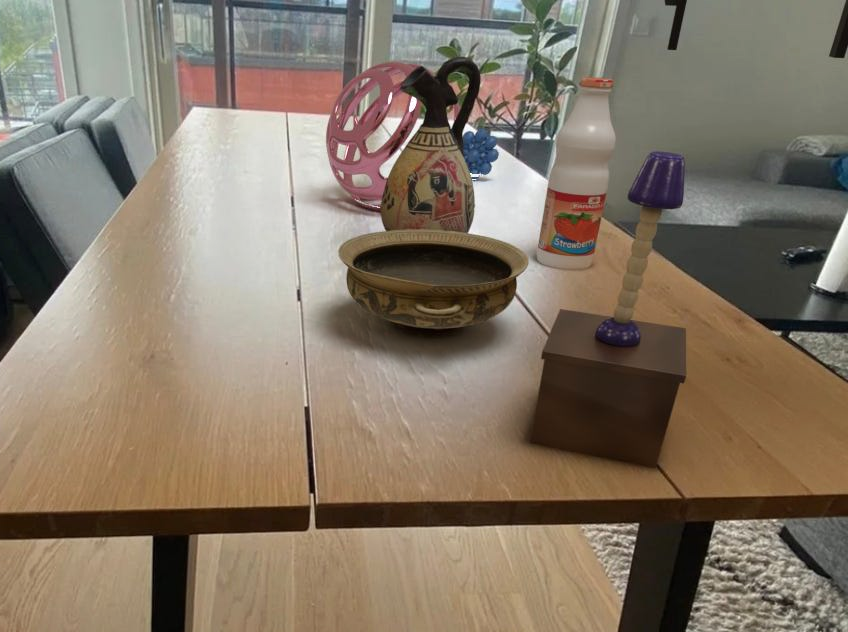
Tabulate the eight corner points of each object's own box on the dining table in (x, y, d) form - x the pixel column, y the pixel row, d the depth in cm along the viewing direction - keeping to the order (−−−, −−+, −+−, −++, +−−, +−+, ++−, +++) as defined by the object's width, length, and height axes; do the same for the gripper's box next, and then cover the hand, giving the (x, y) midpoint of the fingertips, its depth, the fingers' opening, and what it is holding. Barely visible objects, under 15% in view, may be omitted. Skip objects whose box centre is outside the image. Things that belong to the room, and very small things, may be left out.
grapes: (498, 180, 189) (505, 128, 183) (493, 185, 184) (500, 131, 177) (452, 175, 192) (457, 123, 186) (446, 180, 187) (451, 126, 180)
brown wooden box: (661, 416, 82) (686, 328, 77) (658, 472, 72) (686, 375, 67) (544, 394, 86) (560, 308, 80) (525, 445, 75) (542, 351, 70)
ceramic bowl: (340, 287, 114) (341, 218, 109) (499, 294, 115) (509, 226, 109) (331, 370, 89) (333, 285, 83) (537, 378, 89) (551, 295, 84)
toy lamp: (632, 330, 76) (676, 149, 67) (655, 348, 72) (705, 159, 63) (587, 331, 75) (626, 148, 66) (608, 349, 71) (652, 157, 62)
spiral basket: (440, 94, 168) (364, 9, 147) (516, 148, 152) (444, 61, 131) (360, 199, 176) (278, 134, 155) (424, 261, 160) (343, 197, 139)
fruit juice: (572, 253, 136) (605, 76, 121) (602, 269, 128) (642, 82, 113) (525, 256, 133) (553, 74, 118) (554, 272, 125) (588, 81, 111)
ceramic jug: (390, 270, 123) (403, 57, 107) (370, 243, 135) (379, 49, 119) (490, 268, 126) (517, 61, 110) (461, 242, 139) (482, 53, 123)
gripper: (1012, -268, 57) (898, 58, 68) (661, -252, 63) (610, 45, 74) (1054, -301, 51) (922, 63, 62) (661, -280, 57) (605, 47, 68)
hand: (751, 53), depth 68 cm, fingers open, 13 cm apart
